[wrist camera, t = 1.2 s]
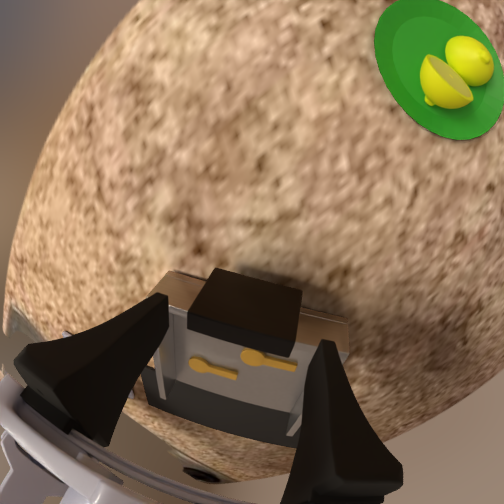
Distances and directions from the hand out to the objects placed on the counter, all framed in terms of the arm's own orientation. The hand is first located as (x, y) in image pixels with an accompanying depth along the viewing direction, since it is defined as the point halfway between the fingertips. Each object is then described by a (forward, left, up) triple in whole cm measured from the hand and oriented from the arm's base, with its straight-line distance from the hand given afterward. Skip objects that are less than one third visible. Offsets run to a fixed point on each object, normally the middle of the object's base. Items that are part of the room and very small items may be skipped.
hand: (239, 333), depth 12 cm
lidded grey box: (0, -6, -5) cm, 8 cm away
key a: (-2, -10, -4) cm, 11 cm away
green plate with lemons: (+7, +14, -6) cm, 17 cm away
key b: (+2, -7, -4) cm, 8 cm away
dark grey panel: (0, -19, -5) cm, 20 cm away
